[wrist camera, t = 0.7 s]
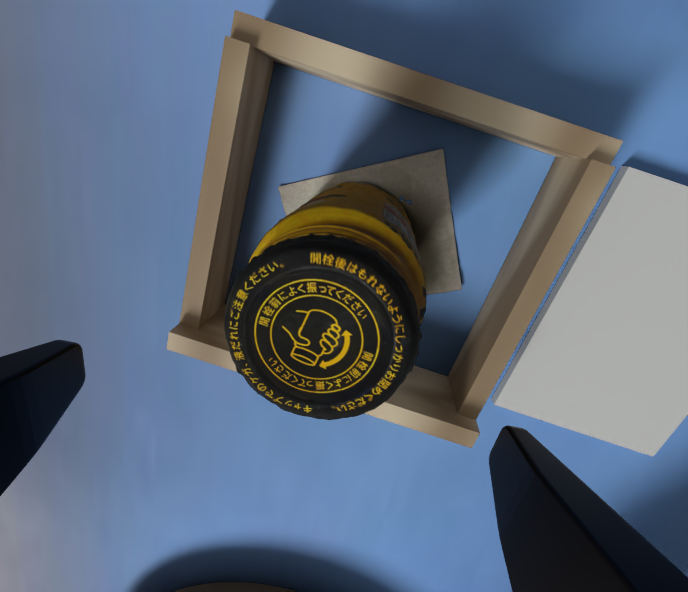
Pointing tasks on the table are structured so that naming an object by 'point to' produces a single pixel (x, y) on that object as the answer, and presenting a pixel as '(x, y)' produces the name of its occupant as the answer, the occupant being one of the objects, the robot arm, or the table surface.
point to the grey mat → (614, 324)
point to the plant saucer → (234, 587)
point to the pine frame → (427, 96)
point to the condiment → (344, 287)
